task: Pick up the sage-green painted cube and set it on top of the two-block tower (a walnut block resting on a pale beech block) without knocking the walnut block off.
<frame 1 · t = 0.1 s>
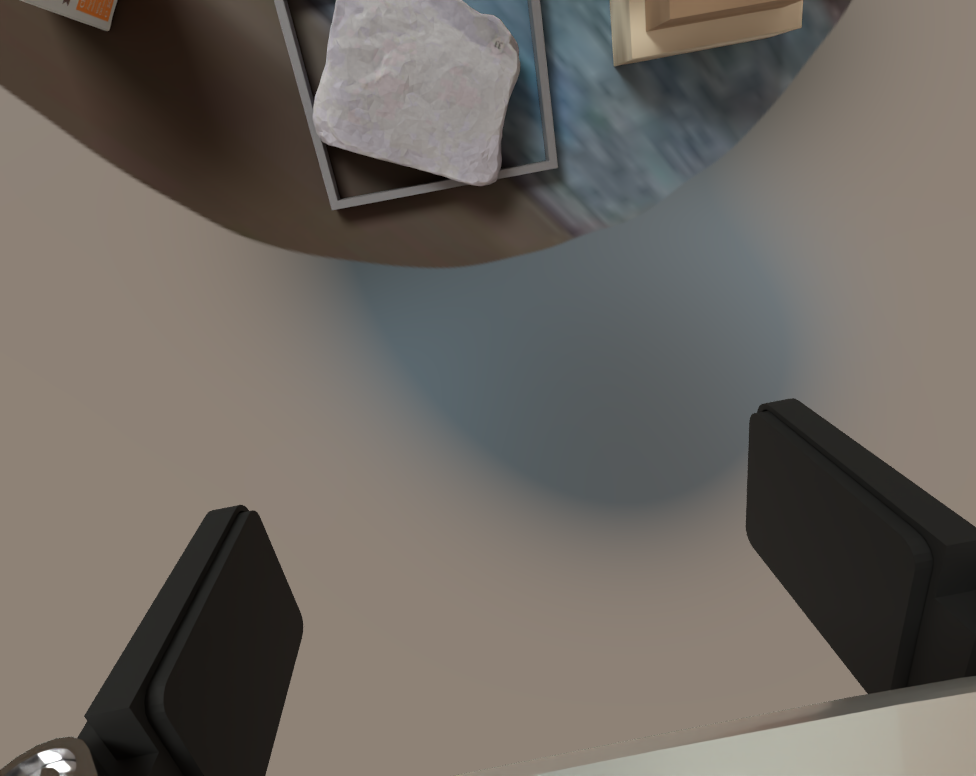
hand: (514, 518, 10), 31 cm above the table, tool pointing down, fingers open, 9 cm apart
tray rim: (425, 83, 35), on the table
stone block: (424, 84, 35), on the table, touching tray rim
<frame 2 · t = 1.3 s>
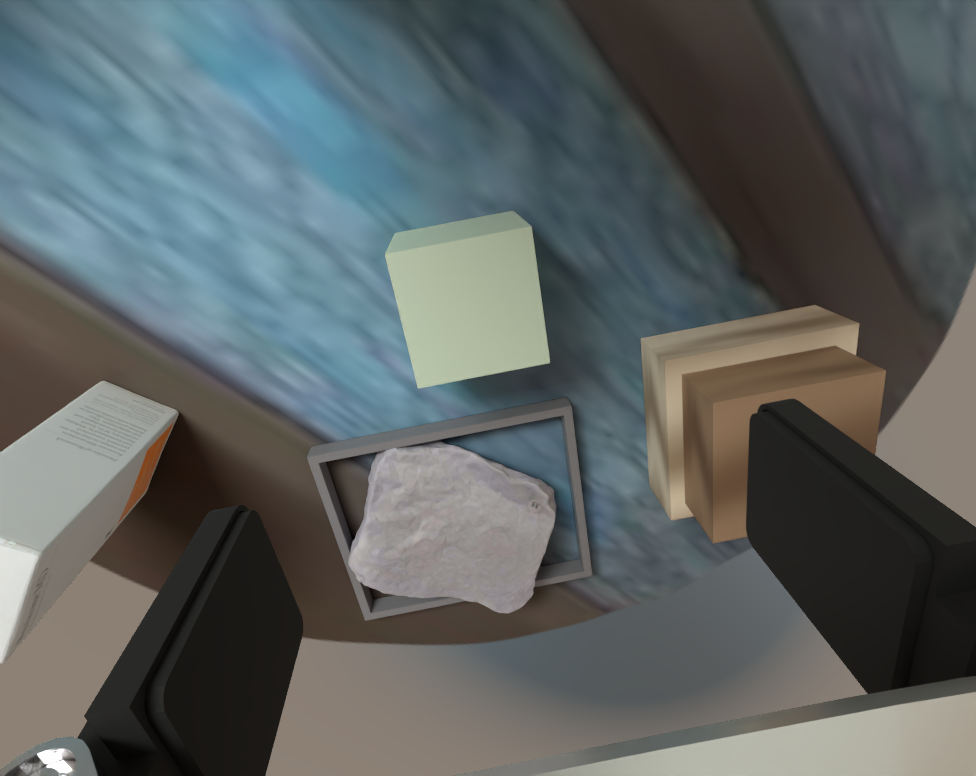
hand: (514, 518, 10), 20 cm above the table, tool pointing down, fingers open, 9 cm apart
tray rim: (459, 509, 34), on the table
skincare box: (129, 434, 31), on the table
walnut block: (756, 428, 30), point 4 cm above the table, touching beech block
stone block: (457, 500, 35), on the table, touching tray rim
beech block: (723, 397, 33), on the table, touching walnut block
green cube: (465, 280, 29), on the table
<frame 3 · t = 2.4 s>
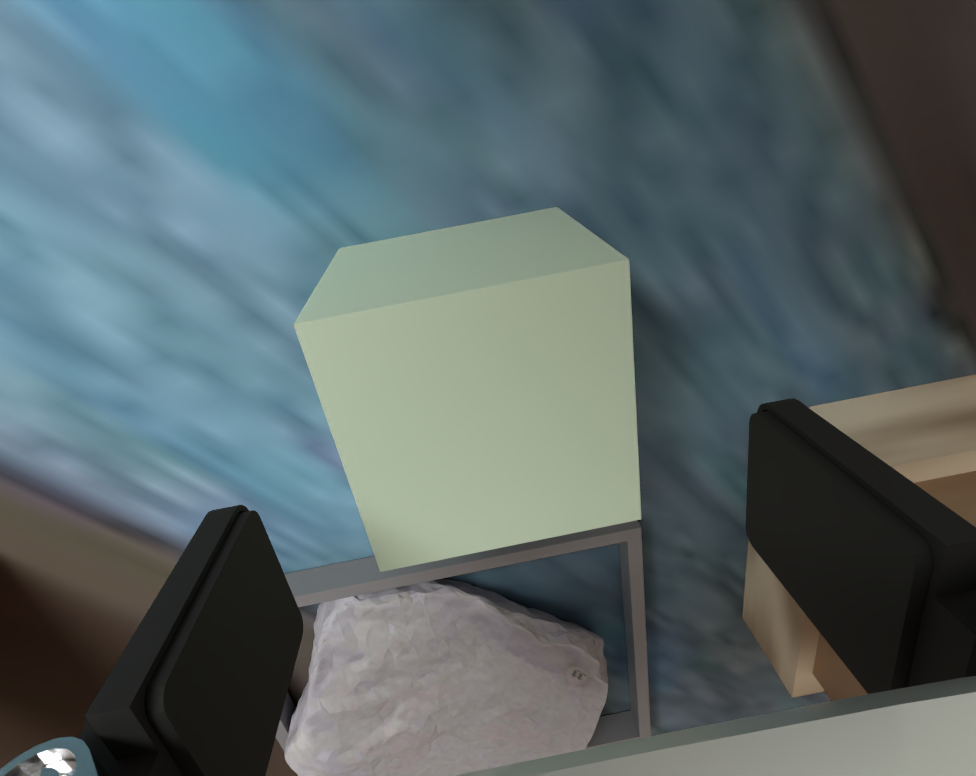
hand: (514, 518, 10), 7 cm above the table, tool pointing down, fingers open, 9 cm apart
tray rim: (457, 659, 23), on the table
walnut block: (946, 570, 18), point 4 cm above the table, touching beech block
stone block: (453, 639, 23), on the table, touching tray rim
beech block: (868, 496, 22), on the table, touching walnut block
green cube: (468, 328, 16), on the table
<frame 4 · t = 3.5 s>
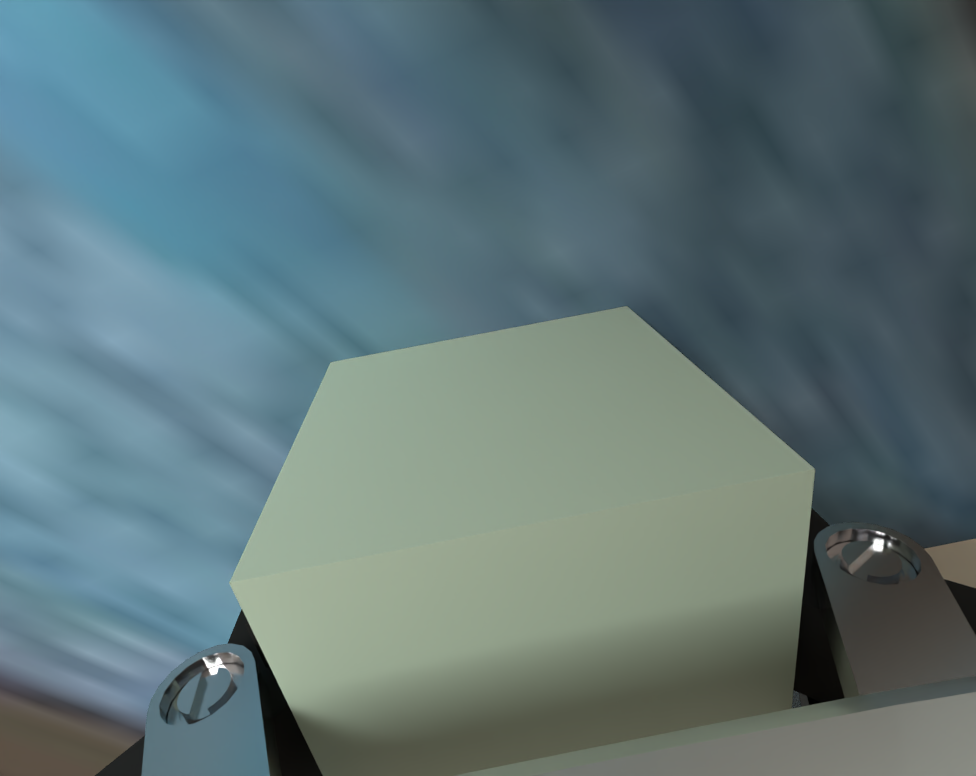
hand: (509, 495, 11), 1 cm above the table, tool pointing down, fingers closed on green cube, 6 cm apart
green cube: (502, 460, 12), on the table, touching gripper
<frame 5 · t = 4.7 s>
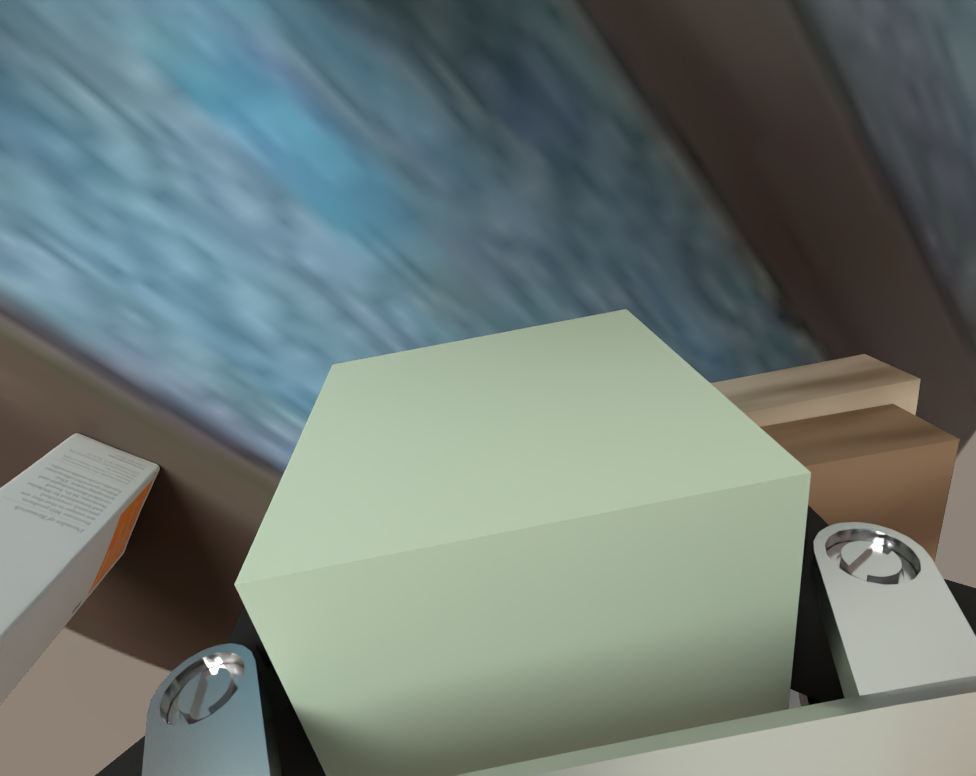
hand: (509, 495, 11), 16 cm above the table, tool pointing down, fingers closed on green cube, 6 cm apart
skincare box: (105, 490, 28), on the table
walnut block: (801, 492, 27), point 4 cm above the table
beech block: (762, 452, 30), on the table
green cube: (502, 461, 12), point 14 cm above the table, touching gripper
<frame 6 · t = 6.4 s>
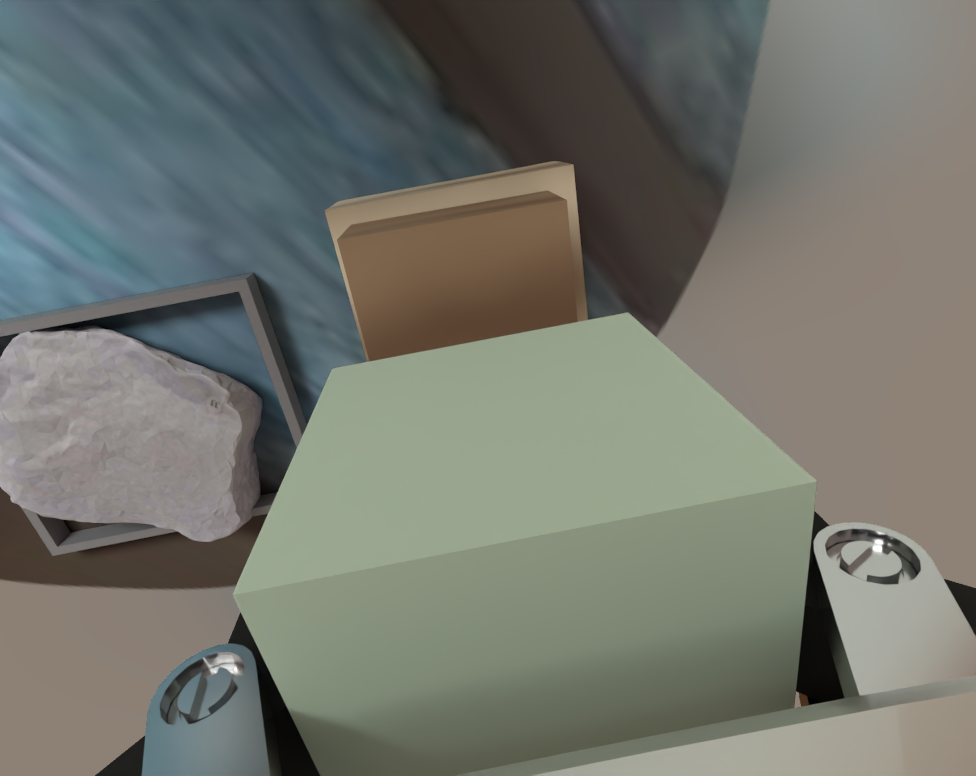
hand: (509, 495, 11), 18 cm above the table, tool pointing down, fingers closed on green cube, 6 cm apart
tray rim: (151, 418, 28), on the table
walnut block: (466, 303, 24), point 4 cm above the table, touching beech block
stone block: (157, 410, 29), on the table, touching tray rim
beech block: (466, 285, 28), on the table, touching walnut block
green cube: (503, 466, 12), point 16 cm above the table, touching gripper
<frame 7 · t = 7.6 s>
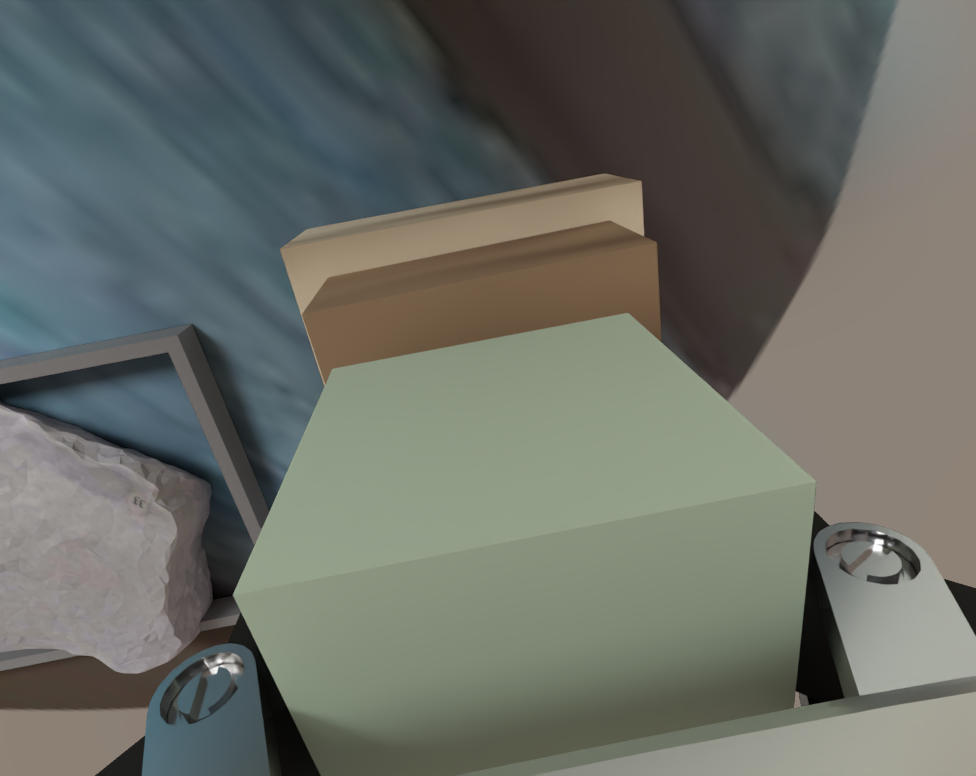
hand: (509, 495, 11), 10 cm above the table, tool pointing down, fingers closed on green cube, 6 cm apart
tray rim: (64, 510, 22), on the table
walnut block: (494, 377, 17), point 4 cm above the table, touching beech block
stone block: (75, 495, 23), on the table, touching tray rim
beech block: (481, 337, 21), on the table, touching walnut block
green cube: (503, 466, 12), point 9 cm above the table, touching gripper
when the fingers open (9 cm above the table, at t = 8.2 s): green cube drops 1 cm, resting on walnut block.
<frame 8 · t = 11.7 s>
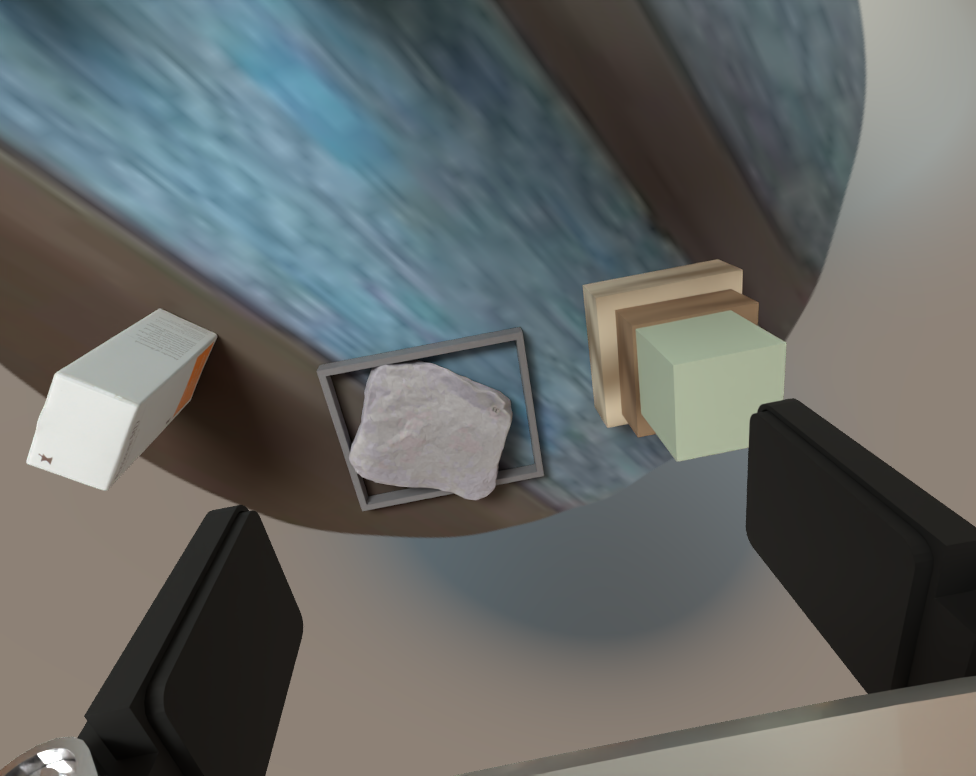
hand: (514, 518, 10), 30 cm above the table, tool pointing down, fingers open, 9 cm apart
tray rim: (437, 419, 43), on the table
skincare box: (178, 353, 40), on the table
walnut block: (674, 353, 39), point 4 cm above the table, touching beech block, green cube
stone block: (435, 413, 44), on the table, touching tray rim
beech block: (651, 334, 43), on the table, touching walnut block
green cube: (684, 363, 35), point 7 cm above the table, touching walnut block
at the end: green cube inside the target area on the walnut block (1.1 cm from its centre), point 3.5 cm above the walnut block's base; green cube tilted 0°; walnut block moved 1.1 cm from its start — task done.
